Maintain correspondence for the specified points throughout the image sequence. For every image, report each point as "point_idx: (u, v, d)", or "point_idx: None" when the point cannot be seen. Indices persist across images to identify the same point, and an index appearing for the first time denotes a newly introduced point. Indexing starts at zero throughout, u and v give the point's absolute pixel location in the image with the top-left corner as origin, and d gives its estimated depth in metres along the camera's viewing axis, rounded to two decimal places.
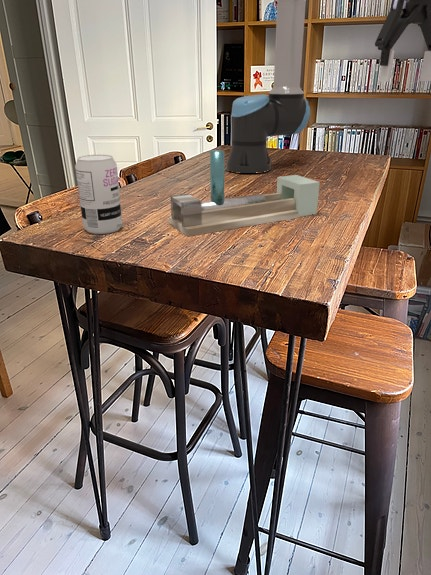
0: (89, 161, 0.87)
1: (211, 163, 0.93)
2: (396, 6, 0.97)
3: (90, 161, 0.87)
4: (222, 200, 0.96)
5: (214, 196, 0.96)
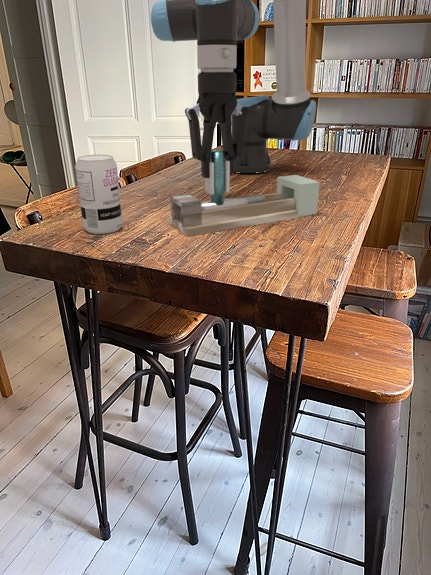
0: (89, 161, 0.87)
1: None
2: (190, 117, 0.87)
3: (90, 161, 0.87)
4: (222, 200, 0.96)
5: (214, 196, 0.96)
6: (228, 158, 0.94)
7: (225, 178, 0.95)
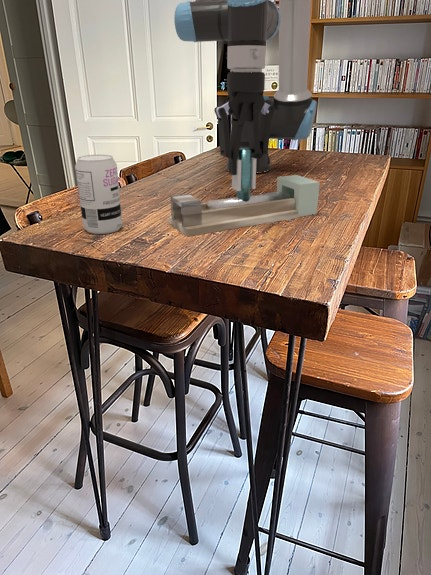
0: (89, 161, 0.87)
1: None
2: (220, 116, 0.90)
3: (90, 161, 0.87)
4: (249, 196, 0.99)
5: (241, 192, 0.98)
6: (255, 155, 0.97)
7: (251, 175, 0.98)
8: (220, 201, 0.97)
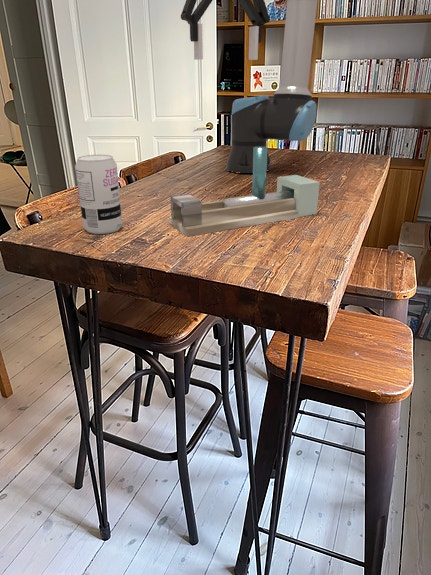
0: (89, 161, 0.87)
1: (254, 159, 0.98)
2: None
3: (90, 161, 0.87)
4: (264, 194, 1.01)
5: (256, 190, 1.00)
6: (257, 23, 0.98)
7: (254, 45, 0.99)
8: (236, 199, 0.99)
